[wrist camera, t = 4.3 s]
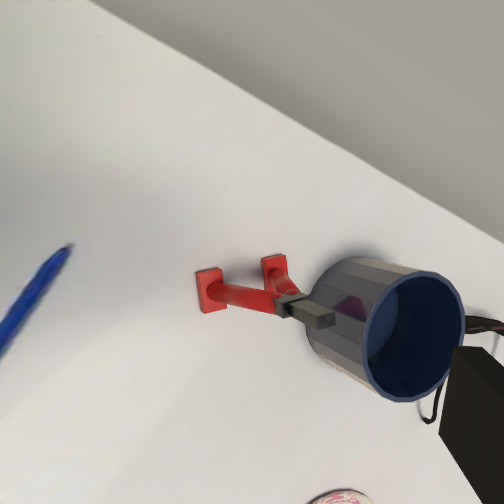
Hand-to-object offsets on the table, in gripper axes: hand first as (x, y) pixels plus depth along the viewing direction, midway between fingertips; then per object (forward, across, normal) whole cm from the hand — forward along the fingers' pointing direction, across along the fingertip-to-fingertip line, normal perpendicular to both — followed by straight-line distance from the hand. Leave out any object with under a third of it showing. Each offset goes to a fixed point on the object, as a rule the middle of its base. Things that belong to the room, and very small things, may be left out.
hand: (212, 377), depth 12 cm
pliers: (+22, +1, -4) cm, 22 cm away
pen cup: (+26, +10, -8) cm, 29 cm away
